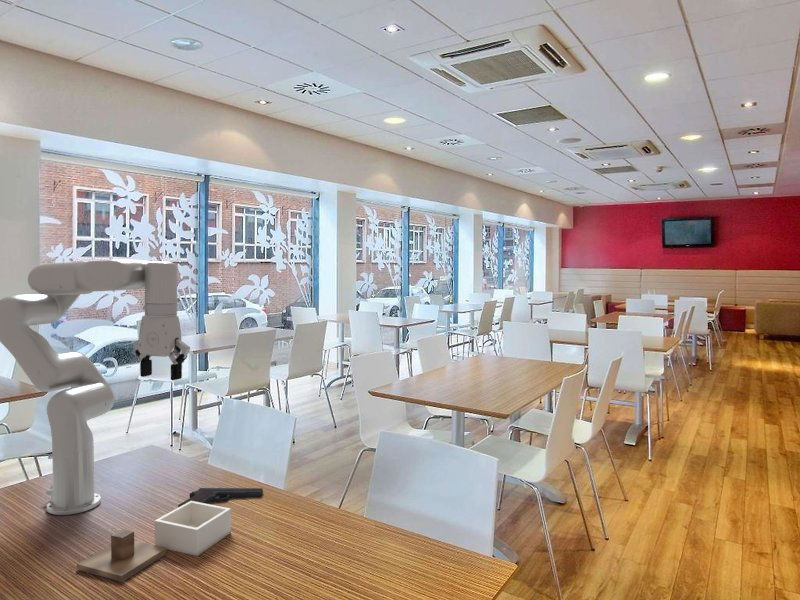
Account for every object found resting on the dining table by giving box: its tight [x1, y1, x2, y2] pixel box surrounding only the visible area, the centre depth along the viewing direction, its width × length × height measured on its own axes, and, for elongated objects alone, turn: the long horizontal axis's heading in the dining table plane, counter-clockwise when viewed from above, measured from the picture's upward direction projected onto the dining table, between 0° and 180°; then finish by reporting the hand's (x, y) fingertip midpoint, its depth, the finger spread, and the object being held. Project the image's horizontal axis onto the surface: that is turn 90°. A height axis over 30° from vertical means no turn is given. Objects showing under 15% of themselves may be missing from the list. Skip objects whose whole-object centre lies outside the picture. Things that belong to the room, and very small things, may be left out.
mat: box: [78, 552, 167, 583], centre depth 123 cm, size 12×12×1 cm
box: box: [154, 501, 232, 557], centre depth 133 cm, size 12×12×6 cm
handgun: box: [177, 487, 264, 508], centre depth 155 cm, size 2×20×12 cm
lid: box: [76, 528, 168, 581], centre depth 123 cm, size 12×12×6 cm
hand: (161, 377), depth 143 cm, fingers open, 9 cm apart
